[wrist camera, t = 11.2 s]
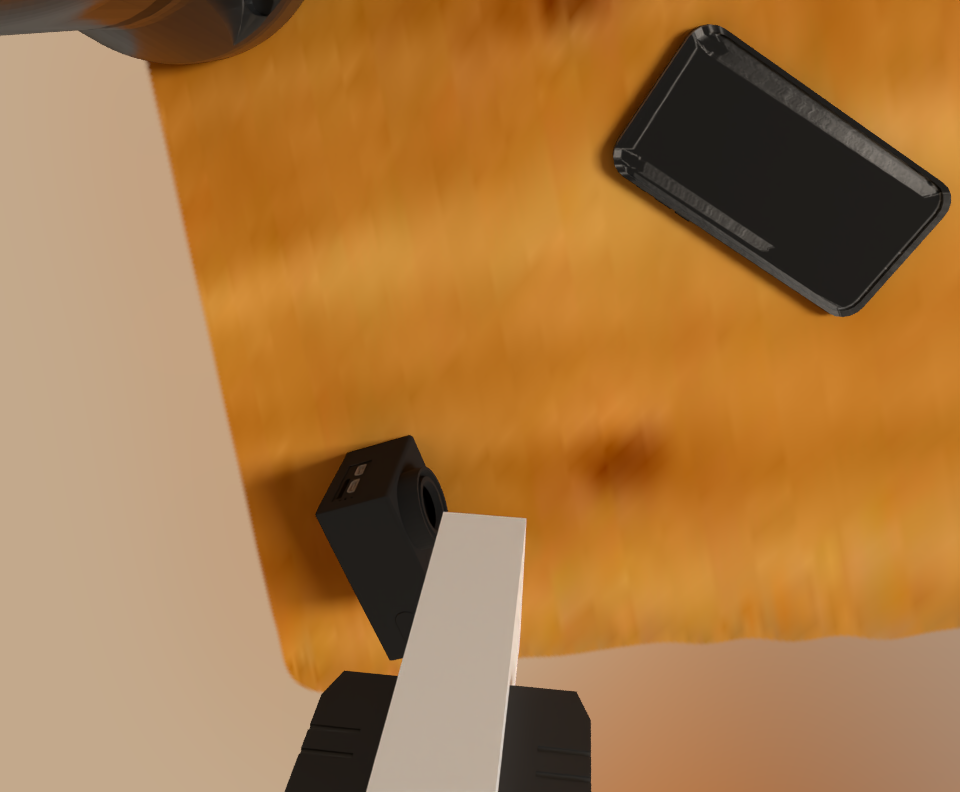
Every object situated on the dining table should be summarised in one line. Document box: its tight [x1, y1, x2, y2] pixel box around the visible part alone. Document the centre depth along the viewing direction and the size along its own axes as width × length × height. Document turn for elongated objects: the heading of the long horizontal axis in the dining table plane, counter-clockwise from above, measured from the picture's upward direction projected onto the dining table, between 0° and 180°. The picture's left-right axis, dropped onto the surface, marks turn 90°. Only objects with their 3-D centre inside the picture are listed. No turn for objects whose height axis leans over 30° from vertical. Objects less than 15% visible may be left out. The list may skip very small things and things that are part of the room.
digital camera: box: [315, 435, 448, 660], centre depth 49 cm, size 10×5×7 cm, turn 20°
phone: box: [613, 24, 951, 317], centre depth 41 cm, size 8×1×15 cm
